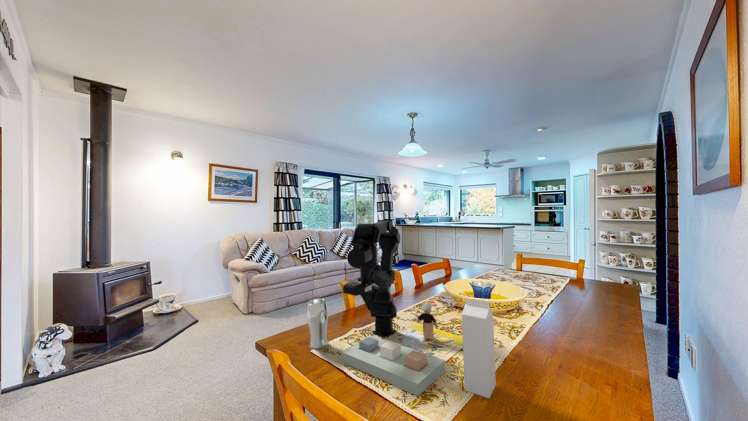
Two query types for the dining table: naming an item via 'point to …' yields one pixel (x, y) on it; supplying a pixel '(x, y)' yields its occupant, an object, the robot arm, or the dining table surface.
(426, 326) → the grandmother figurine
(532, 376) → the dining table surface
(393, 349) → the light grey cube
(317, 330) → the beer glass
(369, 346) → the slate key
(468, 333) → the milk
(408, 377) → the console
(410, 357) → the terracotta key
